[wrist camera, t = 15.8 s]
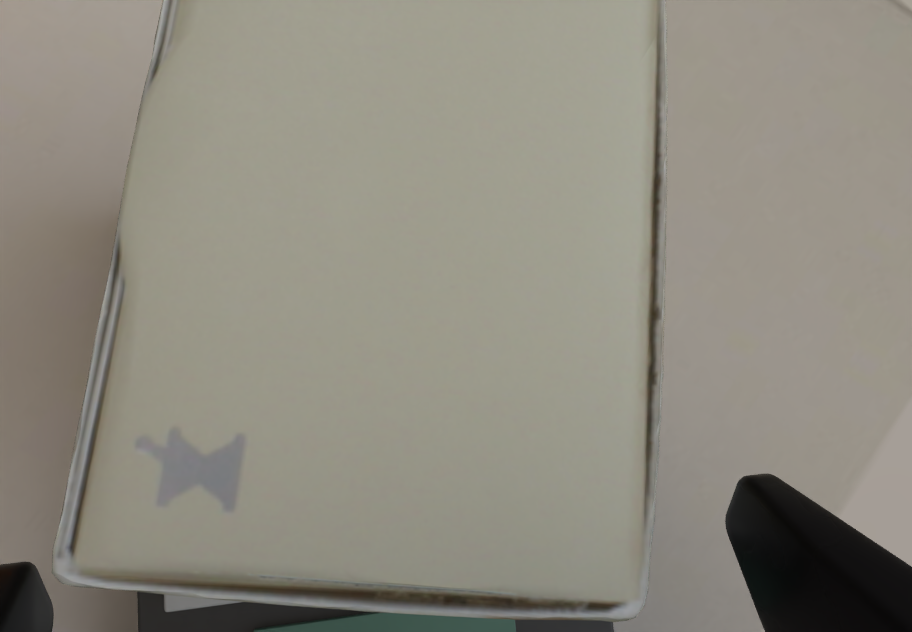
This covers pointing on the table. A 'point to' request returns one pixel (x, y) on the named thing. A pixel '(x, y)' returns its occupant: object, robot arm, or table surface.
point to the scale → (321, 619)
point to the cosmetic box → (384, 312)
